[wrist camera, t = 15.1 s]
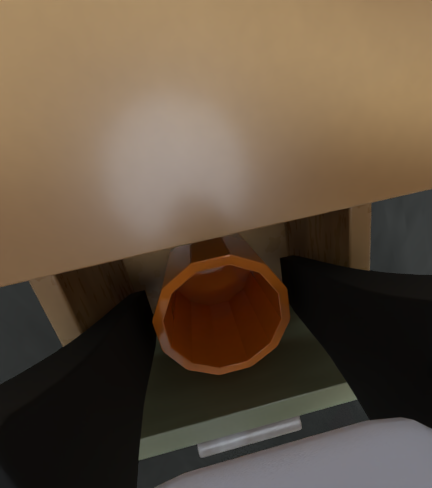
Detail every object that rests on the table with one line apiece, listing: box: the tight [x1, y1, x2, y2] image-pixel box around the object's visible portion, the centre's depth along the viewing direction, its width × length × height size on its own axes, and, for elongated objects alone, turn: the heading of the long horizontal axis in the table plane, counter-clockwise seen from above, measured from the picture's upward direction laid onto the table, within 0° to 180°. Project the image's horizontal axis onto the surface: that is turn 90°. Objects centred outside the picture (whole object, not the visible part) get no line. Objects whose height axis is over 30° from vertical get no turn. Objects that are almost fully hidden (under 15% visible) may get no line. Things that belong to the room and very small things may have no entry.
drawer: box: [29, 203, 372, 460], centre depth 11 cm, size 19×12×7 cm, turn 11°
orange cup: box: [152, 233, 290, 375], centre depth 11 cm, size 5×5×5 cm
